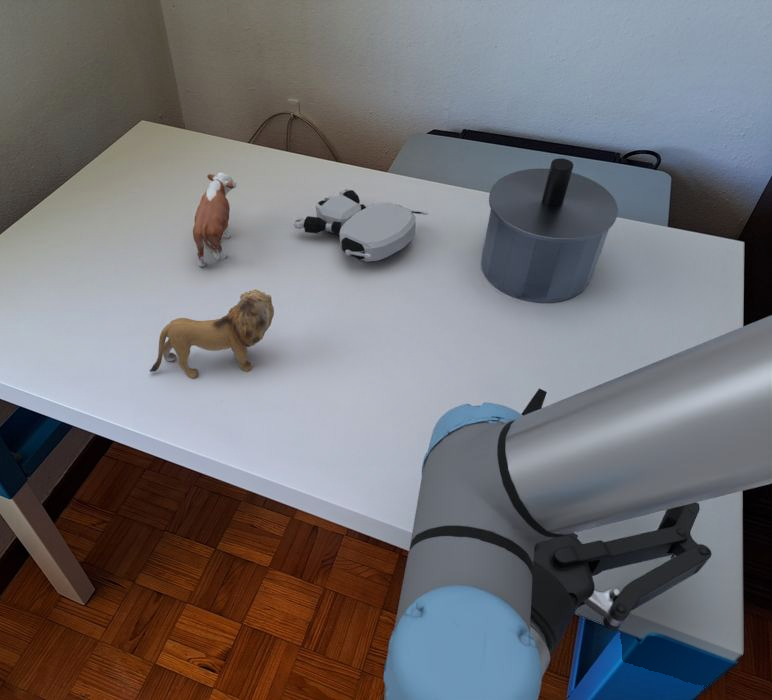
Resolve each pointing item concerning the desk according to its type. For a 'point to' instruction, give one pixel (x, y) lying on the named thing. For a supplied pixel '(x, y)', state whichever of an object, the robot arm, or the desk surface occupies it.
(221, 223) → the bull figurine
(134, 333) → the desk surface
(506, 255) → the pot
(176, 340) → the lion figurine
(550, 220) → the pot lid
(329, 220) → the robot toy
